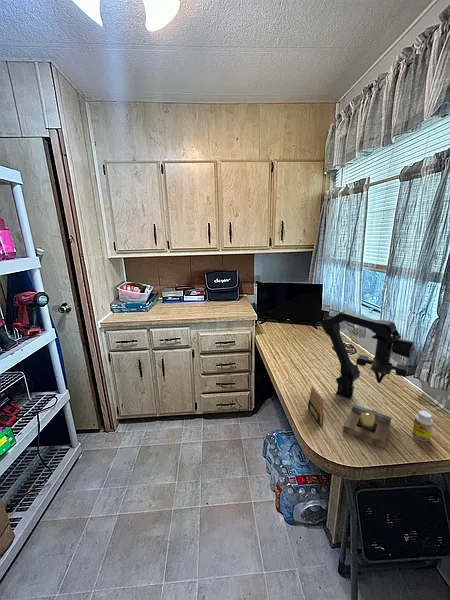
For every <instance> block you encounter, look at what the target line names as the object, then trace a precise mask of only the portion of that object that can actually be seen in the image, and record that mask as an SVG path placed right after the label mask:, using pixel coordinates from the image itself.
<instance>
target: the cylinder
mask: <svg viewBox="0 0 450 600" xmlns="http://www.w3.org/2000/svg"><path fill="white" fill-rule="evenodd" d="M374 422H375V414H374V413H373V412H371V411H368V410H363V411H362V412H361V419H360V424H359V427H360V428H363V429H365V430H367V431H370V432H372V433H374Z"/></svg>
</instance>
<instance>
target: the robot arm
mask: <svg viewBox="0 0 450 600" xmlns="http://www.w3.org/2000/svg"><path fill="white" fill-rule="evenodd" d="M342 322H347V323H350V324H352V325H356V326H359V327H361V328H365V329H368V330H369V331H371V332H372V333H374V335H372V336H371V338H372V339H374V340H376V346H375V351H374V356H373V359H372V360H371V359H370V356H366V355H362V354H360V355H359V356H358V357H357V358H356V362H355V364H354V363H353V362H352V361H351V359H350V356H349V354H348V351H347V349H346V346H345V343H344V341H343V339H342V336H341V326H340V324H341V323H342ZM320 325H321V328H322V329H323V331H324V333H325V334H326V335H327V336H328V337H329V338H330V341H331V343H332V344H331V345H332V346H333V349H334V351H335V353H336V357H337V358H338V361H339V364H340V368H339V369H340V371H339V372H340V376H339V377H337V378H335V379H336V380H335V381H336V384H337V390H336V393H335V394H336V395H338V396H341V397H345V398H348V399H351V397H352V396H353V395H354V394H355V393H354V392H355V386H354V383H355V382H356V381H357V380H358V379H360V376H361V374H360V373H361V371H360V370H359V366H361V367H364V366H367V365H370V368H369V369H370V370H371V371H372V372H374V375H375V379H376V381H377V384H381V383H382V380H383V379H384V377H385V376H386V375H390V374H391V372H392V371H394V372H395V373H394V374H396V375H397V376H400V377H403V378H407V375H408V371H409V367H408V366H407V365H403V364H401V363H397V364H396V365H393V363H392V362H391V355H392V353H393V354H395V355H397V356H401V357H402V358H403V357H404V358H408V359H412V358H413V356H414V354H415V351H416V348H415V342H414V341H412V340H408V339H403V338H402V336H401V334H400V333H399V331H398V329H397V325H396V324H395V322H394V321H391V320H387V319H386V320H385V319H373V318H369V317H366V316H362V315H358V314H355V313H352V312H349V311H347V310H344V311H341V312H339V313H338V314H336V315H334V316H330V317H328V318H325V319H323V320H322V321H321V324H320Z"/></svg>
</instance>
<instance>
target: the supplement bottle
mask: <svg viewBox="0 0 450 600" xmlns="http://www.w3.org/2000/svg"><path fill="white" fill-rule="evenodd" d="M432 417H433V415H432V414H431V413H430V412H428V411H426V410H419V411H418V414H415V416H414V421H413V424H412V425H413V426H412V432H411V434H412V436H413V437H414V438H415V439H417V440H419V441H421V442H429V441H430V440H431V434H432V431H433V426H434V421H433V419H432Z"/></svg>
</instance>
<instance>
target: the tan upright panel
mask: <svg viewBox="0 0 450 600" xmlns="http://www.w3.org/2000/svg"><path fill="white" fill-rule="evenodd" d="M321 397H322V396H321V395H319V393H318V392H317V390H316V389H315V388H314V386H311V389H310V393H309V399H308V406H307V410H308V412H309V413H310V415H311V416H312V418H313V419H314V420H315V422H316V423H317V426H324V415H325V414H324V399H323V398H321Z"/></svg>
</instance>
